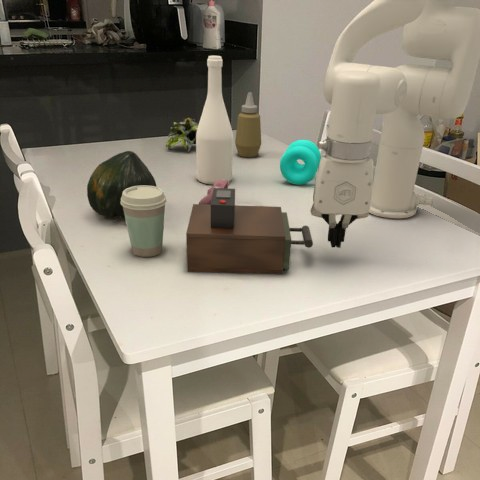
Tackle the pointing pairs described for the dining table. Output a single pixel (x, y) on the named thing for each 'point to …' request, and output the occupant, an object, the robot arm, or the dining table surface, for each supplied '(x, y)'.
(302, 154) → the donuts
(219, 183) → the video game controller
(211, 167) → the wine bottle
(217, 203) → the red button box
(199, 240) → the cabinet
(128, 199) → the coffee cup
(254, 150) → the squeeze bottle
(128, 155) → the squash
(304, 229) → the drawer
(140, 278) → the dining table surface
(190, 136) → the green leafy plant
